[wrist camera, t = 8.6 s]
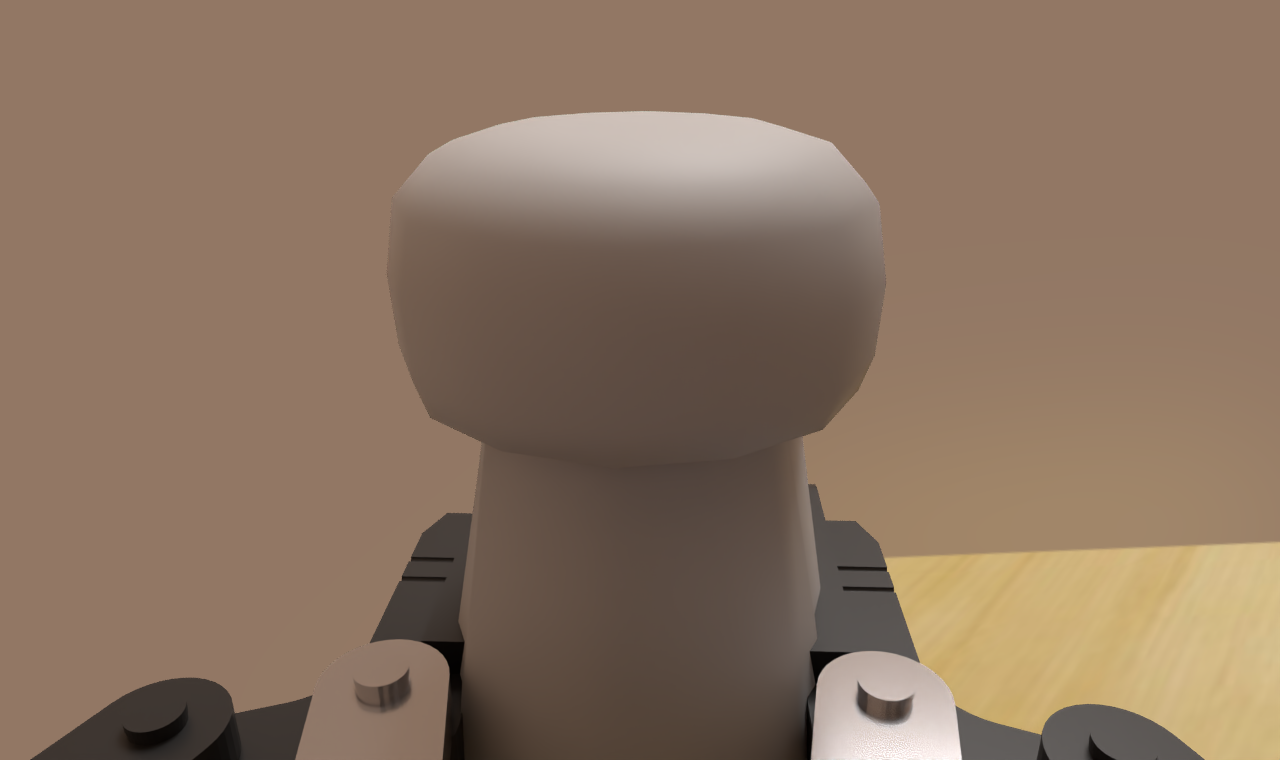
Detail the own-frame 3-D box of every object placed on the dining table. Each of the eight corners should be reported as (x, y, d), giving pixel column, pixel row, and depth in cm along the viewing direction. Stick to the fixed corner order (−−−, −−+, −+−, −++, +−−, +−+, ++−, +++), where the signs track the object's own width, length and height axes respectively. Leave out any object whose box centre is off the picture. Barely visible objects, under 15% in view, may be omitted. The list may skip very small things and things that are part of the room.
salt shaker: (486, 891, 16) (410, 88, 11) (831, 915, 15) (916, 89, 10) (364, 1355, 10) (101, 186, 6) (888, 1413, 10) (1119, 198, 5)
